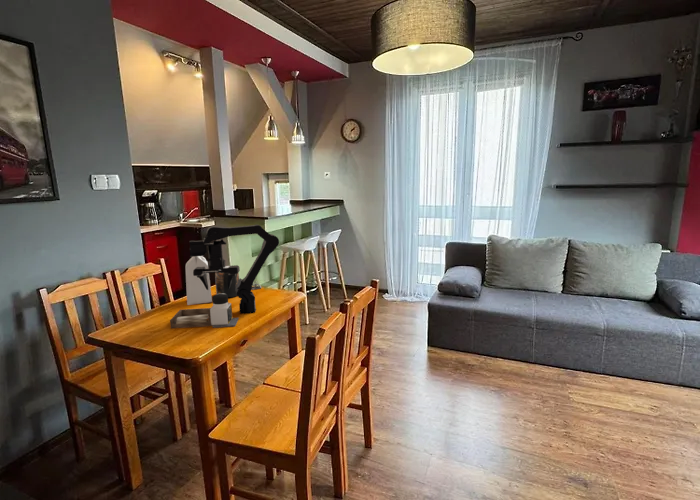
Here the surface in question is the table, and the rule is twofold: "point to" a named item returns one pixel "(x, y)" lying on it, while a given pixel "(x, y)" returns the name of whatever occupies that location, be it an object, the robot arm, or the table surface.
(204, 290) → the milk
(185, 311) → the walnut rack
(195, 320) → the offcut stack
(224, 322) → the medicine bottle
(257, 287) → the house of cards
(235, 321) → the rubber mat
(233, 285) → the jar
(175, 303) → the table surface
